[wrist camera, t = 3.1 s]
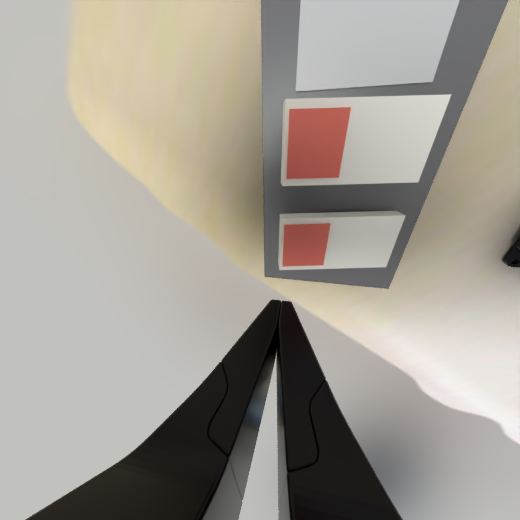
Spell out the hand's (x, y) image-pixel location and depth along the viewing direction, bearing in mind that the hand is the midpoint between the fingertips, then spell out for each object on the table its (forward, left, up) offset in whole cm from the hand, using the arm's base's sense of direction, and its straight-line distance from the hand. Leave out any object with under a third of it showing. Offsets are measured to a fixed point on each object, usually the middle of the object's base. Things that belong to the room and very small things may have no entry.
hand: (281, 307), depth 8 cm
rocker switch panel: (-3, -5, -12) cm, 13 cm away
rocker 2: (-3, 0, -7) cm, 8 cm away
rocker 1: (-3, -6, -7) cm, 10 cm away
